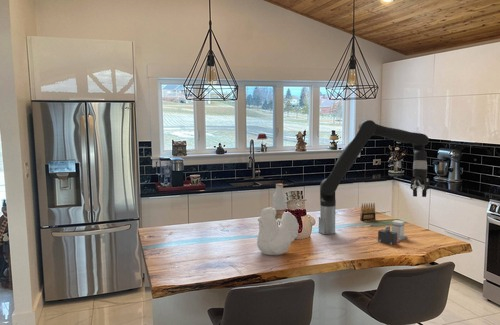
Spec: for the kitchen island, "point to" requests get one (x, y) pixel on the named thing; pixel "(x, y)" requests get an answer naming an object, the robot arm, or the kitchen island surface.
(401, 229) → the grooved white block
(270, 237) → the decorative rooster
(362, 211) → the ammunition clip
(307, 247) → the kitchen island surface
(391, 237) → the grey boxy device
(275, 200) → the white bottle
